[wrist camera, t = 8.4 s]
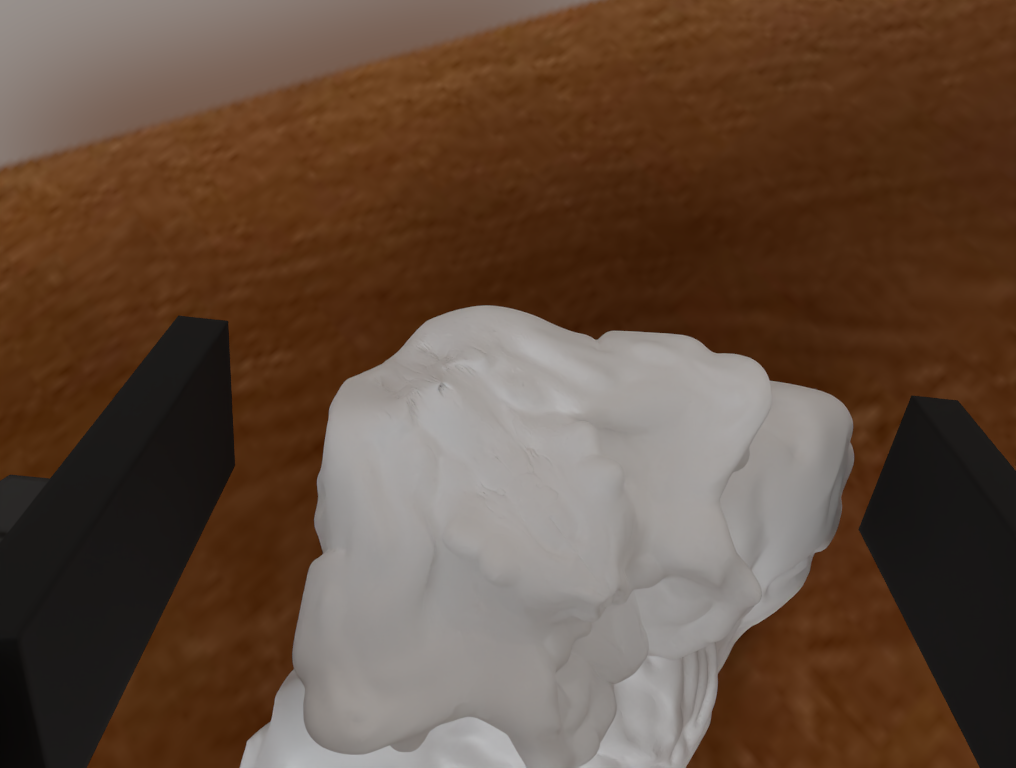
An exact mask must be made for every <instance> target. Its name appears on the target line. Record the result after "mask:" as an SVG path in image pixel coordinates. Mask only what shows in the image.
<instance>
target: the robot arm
mask: <svg viewBox="0 0 1016 768" xmlns="http://www.w3.org/2000/svg"><path fill="white" fill-rule="evenodd" d="M234 466H235V456H234V435H233V415H232V394H231V373H230V352H229V331H228V321H222V320H213V319H204V318H195V317H185V316H178V317H177V318H176V319H175V321H174V322H173V323H172V325H171V326H170V327H169V328H168V330H167V331H166V332H165V333H164V335H163V336H162V337H161V339H160V340H159V341H158V342H157V344H156V345H155V346H154V347H153V349H152V350H151V351H150V353H149V354H148V355H147V356H146V358H145V359H144V360H143V361H142V363H141V364H140V365H139V367H138V368H137V369H136V370H135V372H134V373H133V374H132V375H131V377H130V378H129V379H128V380H127V382H126V383H125V384H124V386H123V387H122V388H121V389H120V391H119V392H118V393H117V394H116V396H115V397H114V398H113V400H112V401H111V402H110V403H109V405H108V406H107V407H106V408H105V410H104V411H103V412H102V414H101V415H100V416H99V417H98V419H97V420H96V421H95V422H94V424H93V425H92V426H91V428H90V429H89V430H88V431H87V433H86V434H85V435H84V436H83V438H82V439H81V440H80V442H79V443H78V444H77V445H76V447H75V448H74V449H73V450H72V452H71V453H70V454H69V456H68V457H67V458H66V459H65V461H64V462H63V463H62V464H61V466H60V467H59V468H58V469H57V471H56V472H55V473H54V475H53V476H52V477H51V478H50V479H47V478H37V477H27V476H17V475H9V476H7V477H6V478H4V479H2V480H1V481H0V768H86V767H87V765H88V763H89V761H90V759H91V757H92V755H93V753H94V751H95V749H96V747H97V745H98V743H99V741H100V739H101V737H102V735H103V733H104V731H105V729H106V727H107V725H108V723H109V721H110V719H111V717H112V715H113V713H114V710H115V708H116V706H117V704H118V702H119V700H120V698H121V696H122V694H123V692H124V690H125V688H126V686H127V684H128V682H129V680H130V678H131V676H132V674H133V672H134V670H135V668H136V666H137V664H138V662H139V660H140V658H141V656H142V654H143V651H144V649H145V647H146V645H147V643H148V641H149V639H150V637H151V635H152V633H153V631H154V629H155V627H156V625H157V623H158V621H159V619H160V617H161V615H162V613H163V611H164V609H165V607H166V605H167V603H168V601H169V599H170V597H171V595H172V592H173V590H174V588H175V586H176V584H177V582H178V580H179V578H180V576H181V574H182V572H183V570H184V568H185V566H186V564H187V562H188V560H189V558H190V556H191V554H192V552H193V550H194V548H195V546H196V544H197V542H198V540H199V538H200V536H201V534H202V531H203V529H204V527H205V525H206V523H207V521H208V519H209V517H210V515H211V513H212V511H213V509H214V507H215V505H216V503H217V501H218V499H219V497H220V495H221V493H222V491H223V489H224V487H225V485H226V483H227V481H228V479H229V477H230V475H231V472H232V470H233V468H234ZM859 531H860V533H861V535H862V537H863V539H864V541H865V543H866V545H867V547H868V549H869V551H870V552H871V554H872V556H873V558H874V560H875V562H876V564H877V566H878V568H879V570H880V572H881V574H882V576H883V578H884V580H885V582H886V584H887V586H888V588H889V590H890V592H891V594H892V596H893V598H894V600H895V602H896V604H897V606H898V607H899V609H900V611H901V613H902V615H903V617H904V619H905V621H906V623H907V625H908V627H909V629H910V631H911V633H912V635H913V637H914V639H915V641H916V643H917V645H918V647H919V649H920V651H921V653H922V655H923V657H924V659H925V661H926V662H927V664H928V666H929V668H930V670H931V672H932V674H933V676H934V678H935V680H936V682H937V684H938V686H939V688H940V690H941V692H942V694H943V696H944V698H945V700H946V702H947V704H948V706H949V708H950V710H951V712H952V714H953V716H954V717H955V719H956V721H957V723H958V725H959V727H960V729H961V731H962V733H963V735H964V737H965V739H966V741H967V743H968V745H969V747H970V749H971V751H972V753H973V755H974V757H975V759H976V761H977V763H978V765H979V767H980V768H1016V471H1015V470H1014V468H1013V467H1012V466H1011V465H1010V463H1009V462H1008V461H1007V460H1006V459H1005V457H1004V456H1003V455H1002V454H1001V452H1000V451H999V450H998V449H997V448H996V446H995V445H994V444H993V443H992V442H991V440H990V439H989V438H988V437H987V435H986V434H985V433H984V432H983V431H982V429H981V428H980V427H979V426H978V425H977V423H976V422H975V421H974V420H973V418H972V417H971V416H970V415H969V414H968V412H967V411H966V410H965V409H964V407H963V406H962V405H961V404H960V403H959V401H957V400H948V399H939V398H930V397H920V396H911V398H910V401H909V403H908V406H907V408H906V411H905V413H904V416H903V418H902V421H901V423H900V426H899V428H898V431H897V434H896V436H895V439H894V441H893V444H892V446H891V449H890V451H889V454H888V456H887V459H886V461H885V464H884V466H883V469H882V471H881V474H880V477H879V479H878V482H877V484H876V487H875V489H874V492H873V494H872V497H871V499H870V502H869V504H868V507H867V509H866V512H865V514H864V517H863V519H862V522H861V525H860V527H859Z"/></svg>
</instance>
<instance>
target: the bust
mask: <svg viewBox="0 0 1016 768" xmlns="http://www.w3.org/2000/svg"><path fill="white" fill-rule="evenodd" d="M852 432H853V420H852V417H851V415H850V413H849V411H848V409H847V408H846V407H845V405H844V404H843V403H842V402H841V401H839V400H838V399H837V398H835V397H834V396H832V395H830V394H828V393H825V392H823V391H820V390H816V389H811V388H807V387H803V386H799V385H793V384H788V383H782V382H776V381H769V378H768V375H767V373H766V371H765V370H764V369H763V367H762V366H761V365H760V364H759V363H758V362H756V361H755V360H753V359H751V358H749V357H746V356H742V355H738V354H727V353H720V354H718V353H714V352H711V351H710V350H709V349H708V348H706V347H705V346H704V345H703V344H702V343H701V342H700V341H698V340H696V339H694V338H692V337H689V336H685V335H678V334H667V333H651V332H634V331H609V332H606V333H605V334H603V335H602V336H601V337H600V338H599V339H598V340H595V339H593V338H592V337H590V336H588V335H585V334H580V333H576V332H572V331H569V330H567V329H564V328H561V327H559V326H557V325H554V324H552V323H550V322H548V321H545V320H543V319H541V318H539V317H537V316H534V315H532V314H529V313H526V312H522V311H519V310H515V309H511V308H506V307H500V306H489V305H484V306H473V307H468V308H463V309H459V310H454V311H451V312H448V313H445V314H443V315H440V316H437V317H434V318H432V319H430V320H428V321H426V322H425V323H424V324H423V325H422V326H421V327H419V328H418V329H417V330H416V332H415V333H414V334H413V335H412V336H411V337H410V338H409V339H408V341H407V342H406V343H405V344H404V346H403V347H402V348H401V349H400V350H399V351H398V352H397V353H396V354H394V355H393V356H392V357H391V358H389V359H388V360H386V361H385V362H384V363H383V364H381V365H379V366H377V367H375V368H372V369H370V370H368V371H365V372H363V373H361V374H359V375H356V376H354V377H351V378H349V379H347V380H346V381H345V382H344V383H343V384H342V386H341V387H340V389H339V391H338V392H337V394H336V396H335V397H334V399H333V401H332V403H331V405H330V408H329V419H328V424H327V429H326V436H325V442H324V451H323V460H322V466H321V470H320V473H319V475H318V478H317V491H318V504H317V508H316V512H315V517H314V526H315V530H316V532H317V534H318V537H319V541H320V544H321V548H322V551H323V555H321V556H320V557H319V558H317V559H315V560H314V561H313V562H312V564H311V565H310V568H309V570H308V574H307V579H306V584H305V588H304V593H303V598H302V603H301V607H300V612H299V618H298V622H297V627H296V632H295V637H294V643H293V653H292V661H293V666H294V669H293V670H292V672H291V673H290V674H289V675H288V676H287V678H286V680H285V681H284V682H283V684H282V685H281V687H280V689H279V691H278V692H277V694H276V697H275V703H274V708H273V714H272V719H271V722H269V723H268V724H266V725H265V726H264V727H262V728H261V729H260V730H259V731H257V732H256V733H255V734H254V735H253V736H252V737H251V738H250V739H249V740H248V741H247V743H246V748H245V751H244V754H243V757H242V761H241V765H240V768H686V766H687V764H688V763H689V761H690V759H691V758H692V756H693V754H694V752H695V751H696V749H697V747H698V746H699V743H700V741H701V740H702V738H703V736H704V735H705V733H706V731H707V729H708V727H709V725H710V721H711V713H712V709H713V707H714V704H715V700H716V696H717V688H718V673H719V671H720V670H721V668H722V666H723V665H724V663H725V661H726V659H727V657H728V655H729V653H730V651H731V649H732V647H733V645H734V643H735V642H736V641H737V640H738V639H739V637H740V636H741V635H742V634H743V633H744V632H745V631H746V630H748V629H749V628H750V627H752V626H753V625H756V624H758V623H759V622H761V621H762V620H764V619H765V618H767V617H768V616H770V615H771V614H773V613H774V612H776V611H777V610H778V609H779V608H781V607H782V606H783V605H784V604H785V603H786V602H788V601H789V600H790V599H791V598H792V597H793V596H794V595H795V594H796V593H797V592H798V591H799V590H800V588H801V587H802V586H803V584H804V582H805V580H806V578H807V576H808V574H809V572H810V567H811V562H812V558H813V556H814V554H815V553H816V552H820V551H822V550H824V549H826V548H827V547H828V545H829V544H830V542H831V541H832V539H833V537H834V535H835V533H836V531H837V528H838V525H839V521H840V517H841V512H842V501H841V496H842V492H843V489H844V487H845V484H846V482H847V479H848V477H849V475H850V473H851V470H852V467H853V464H854V451H853V448H852V445H851V443H850V440H851V436H852Z"/></svg>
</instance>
